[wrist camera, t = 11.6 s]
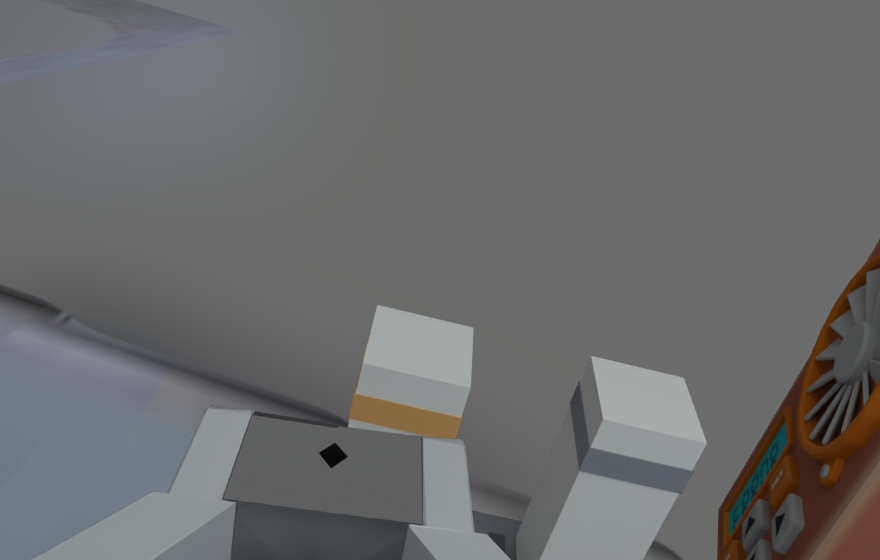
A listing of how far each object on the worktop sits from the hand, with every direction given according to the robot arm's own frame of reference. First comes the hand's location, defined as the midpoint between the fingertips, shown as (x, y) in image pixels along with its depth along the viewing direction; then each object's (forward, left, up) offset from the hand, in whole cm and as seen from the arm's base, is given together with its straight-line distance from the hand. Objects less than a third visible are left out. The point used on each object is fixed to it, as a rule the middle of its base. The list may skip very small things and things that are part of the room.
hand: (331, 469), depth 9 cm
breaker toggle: (+2, +17, -21) cm, 27 cm away
